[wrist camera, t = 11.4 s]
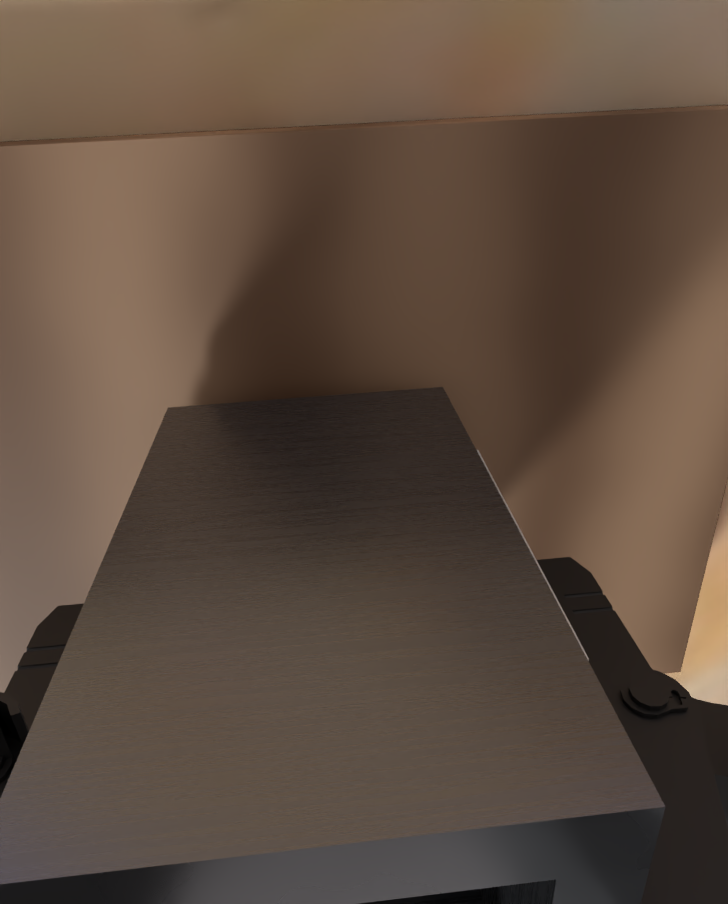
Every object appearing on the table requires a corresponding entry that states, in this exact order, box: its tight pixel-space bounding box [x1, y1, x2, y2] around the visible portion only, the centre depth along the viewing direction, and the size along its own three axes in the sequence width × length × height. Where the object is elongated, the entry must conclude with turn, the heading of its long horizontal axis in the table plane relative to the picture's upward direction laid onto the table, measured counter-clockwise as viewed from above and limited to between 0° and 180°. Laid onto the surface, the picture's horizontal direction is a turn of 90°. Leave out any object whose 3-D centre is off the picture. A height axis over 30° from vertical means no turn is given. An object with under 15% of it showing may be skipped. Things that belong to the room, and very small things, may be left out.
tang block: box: [0, 105, 728, 693], centre depth 15 cm, size 22×16×10 cm
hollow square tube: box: [0, 387, 665, 904], centre depth 11 cm, size 6×6×10 cm
